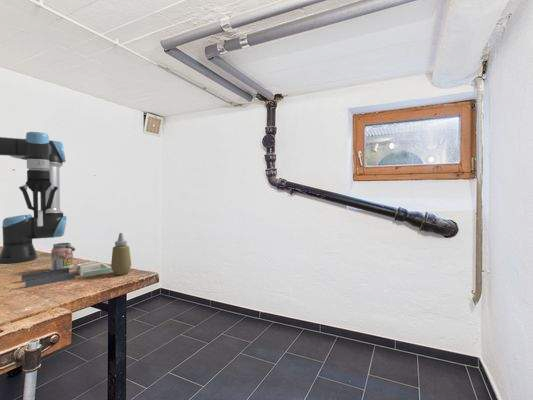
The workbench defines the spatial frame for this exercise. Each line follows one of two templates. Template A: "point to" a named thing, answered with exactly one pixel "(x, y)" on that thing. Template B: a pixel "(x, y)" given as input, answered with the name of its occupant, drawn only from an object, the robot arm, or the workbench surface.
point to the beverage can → (62, 256)
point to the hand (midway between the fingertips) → (40, 225)
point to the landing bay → (98, 270)
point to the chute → (47, 277)
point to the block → (88, 267)
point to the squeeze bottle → (121, 257)
